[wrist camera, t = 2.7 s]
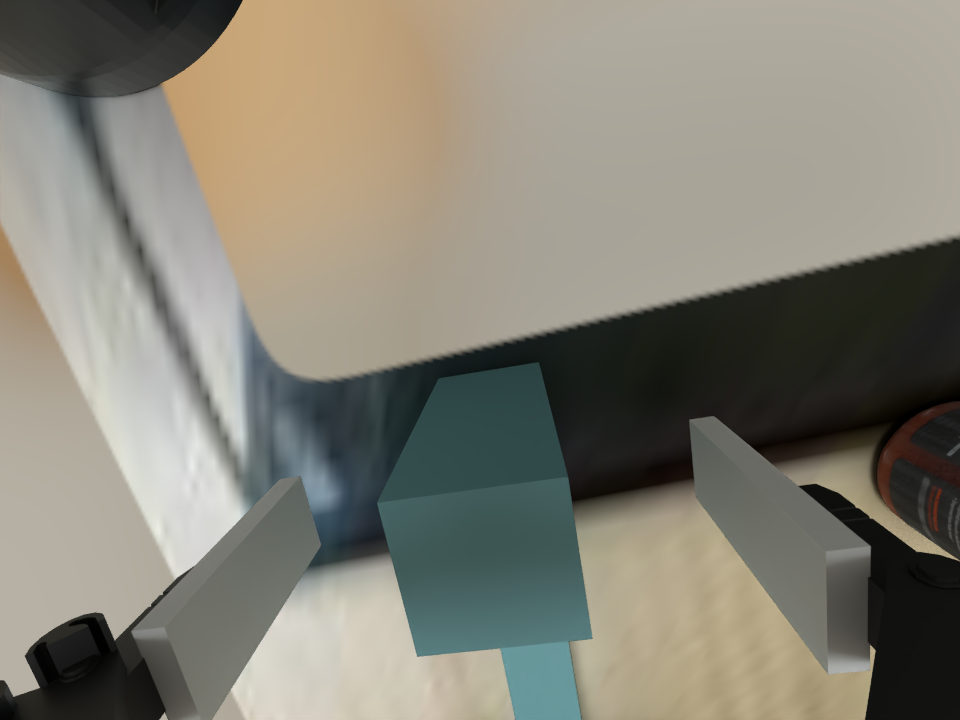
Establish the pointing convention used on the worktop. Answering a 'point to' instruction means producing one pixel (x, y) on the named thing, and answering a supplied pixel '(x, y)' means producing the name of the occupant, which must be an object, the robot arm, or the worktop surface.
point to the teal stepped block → (491, 535)
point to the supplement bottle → (926, 475)
